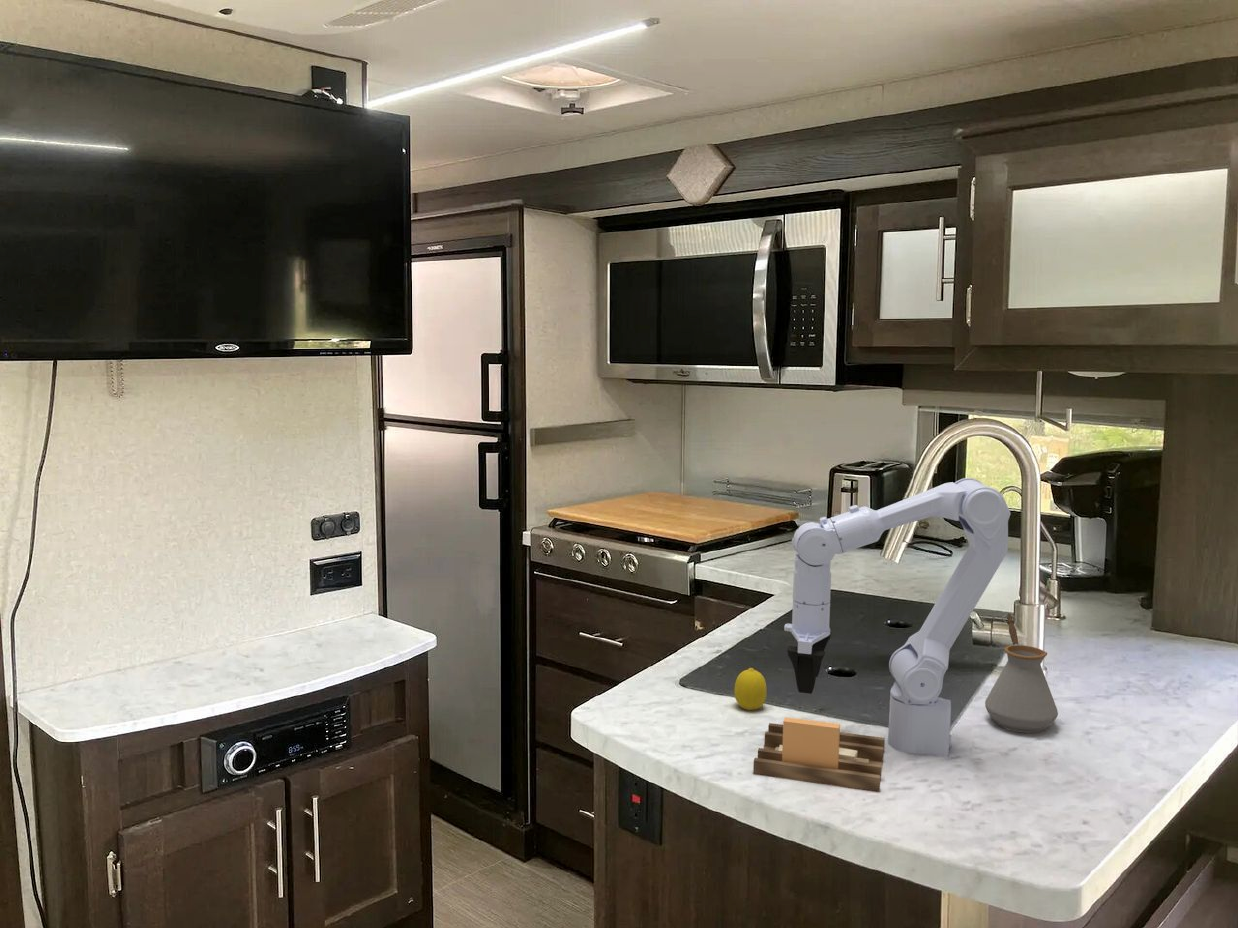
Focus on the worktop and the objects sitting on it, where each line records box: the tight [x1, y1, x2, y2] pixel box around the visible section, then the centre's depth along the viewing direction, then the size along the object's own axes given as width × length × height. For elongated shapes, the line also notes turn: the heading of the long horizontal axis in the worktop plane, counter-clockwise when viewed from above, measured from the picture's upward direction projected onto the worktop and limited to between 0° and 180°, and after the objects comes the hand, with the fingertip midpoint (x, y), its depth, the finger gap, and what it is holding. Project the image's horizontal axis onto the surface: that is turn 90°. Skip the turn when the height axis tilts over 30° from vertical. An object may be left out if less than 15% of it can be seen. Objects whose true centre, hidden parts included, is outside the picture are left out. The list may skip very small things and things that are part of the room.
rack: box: [752, 722, 886, 793], centre depth 150 cm, size 18×16×3 cm
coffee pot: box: [984, 613, 1059, 734], centre depth 171 cm, size 21×12×15 cm, turn 168°
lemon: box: [733, 667, 768, 711], centre depth 170 cm, size 6×6×8 cm
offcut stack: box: [775, 745, 869, 763], centre depth 149 cm, size 14×4×2 cm, turn 72°
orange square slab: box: [782, 716, 841, 769], centre depth 145 cm, size 8×2×8 cm, turn 72°
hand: (808, 683), depth 156 cm, fingers open, 7 cm apart
